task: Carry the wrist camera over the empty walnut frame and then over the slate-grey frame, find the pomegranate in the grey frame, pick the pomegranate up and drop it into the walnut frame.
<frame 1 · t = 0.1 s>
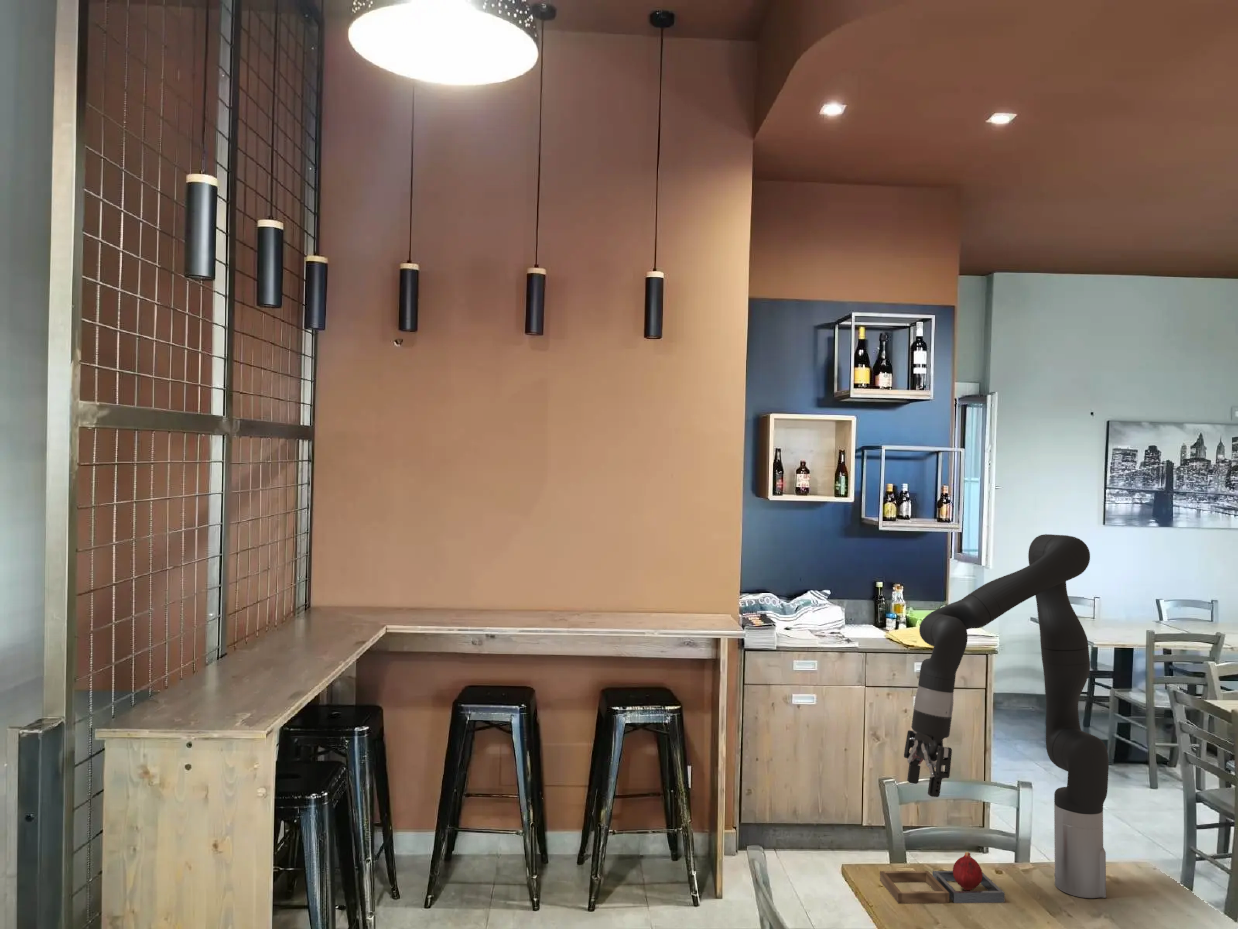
hand: (922, 789, 180), 22 cm above the table, tool pointing down, fingers open, 8 cm apart
pomegranate: (967, 892, 183), resting in grey frame
walnut frame: (913, 891, 182), on the table
grey frame: (967, 891, 183), on the table
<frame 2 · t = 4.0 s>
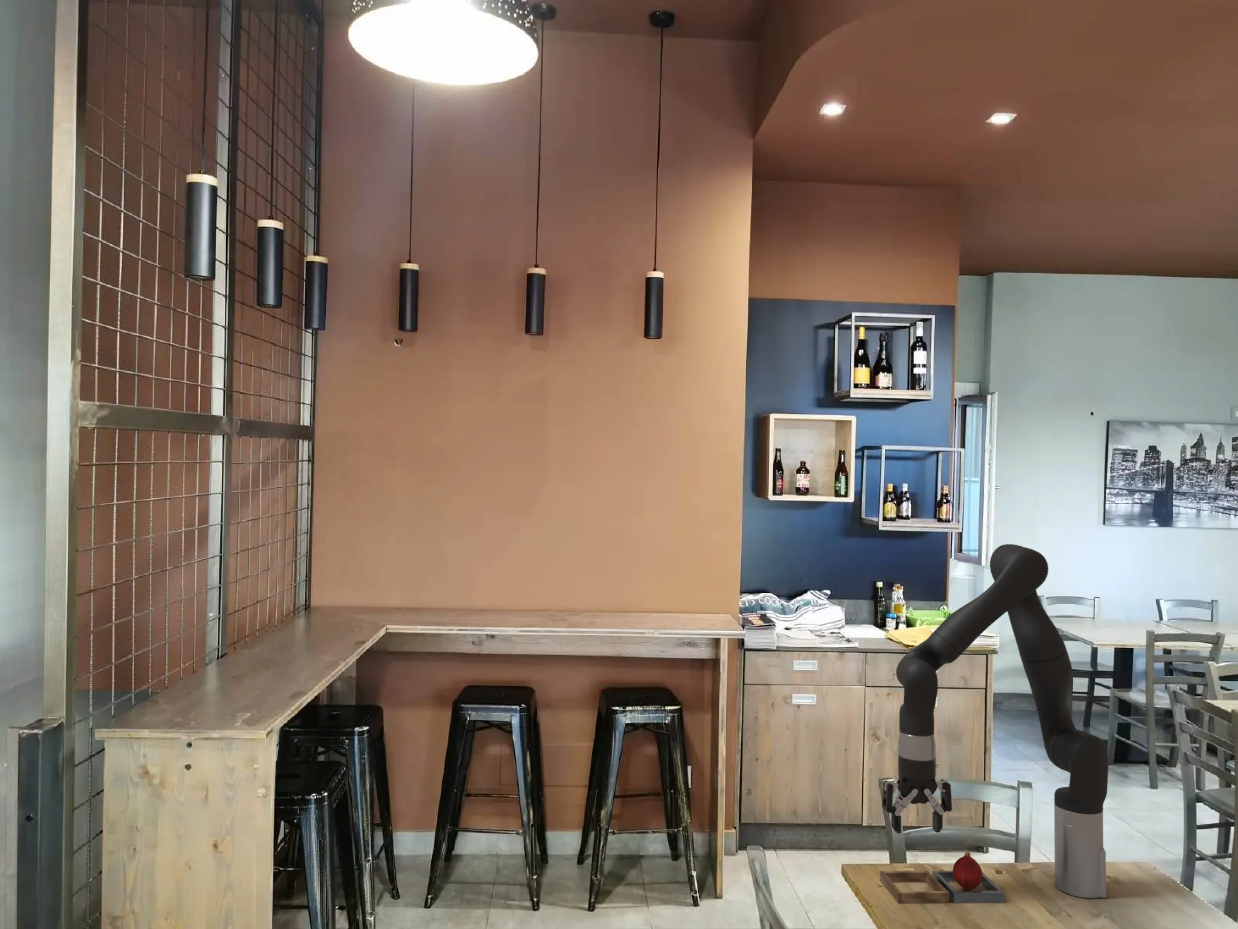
hand: (917, 831, 183), 12 cm above the table, tool pointing down, fingers open, 8 cm apart
nothing on the table moved.
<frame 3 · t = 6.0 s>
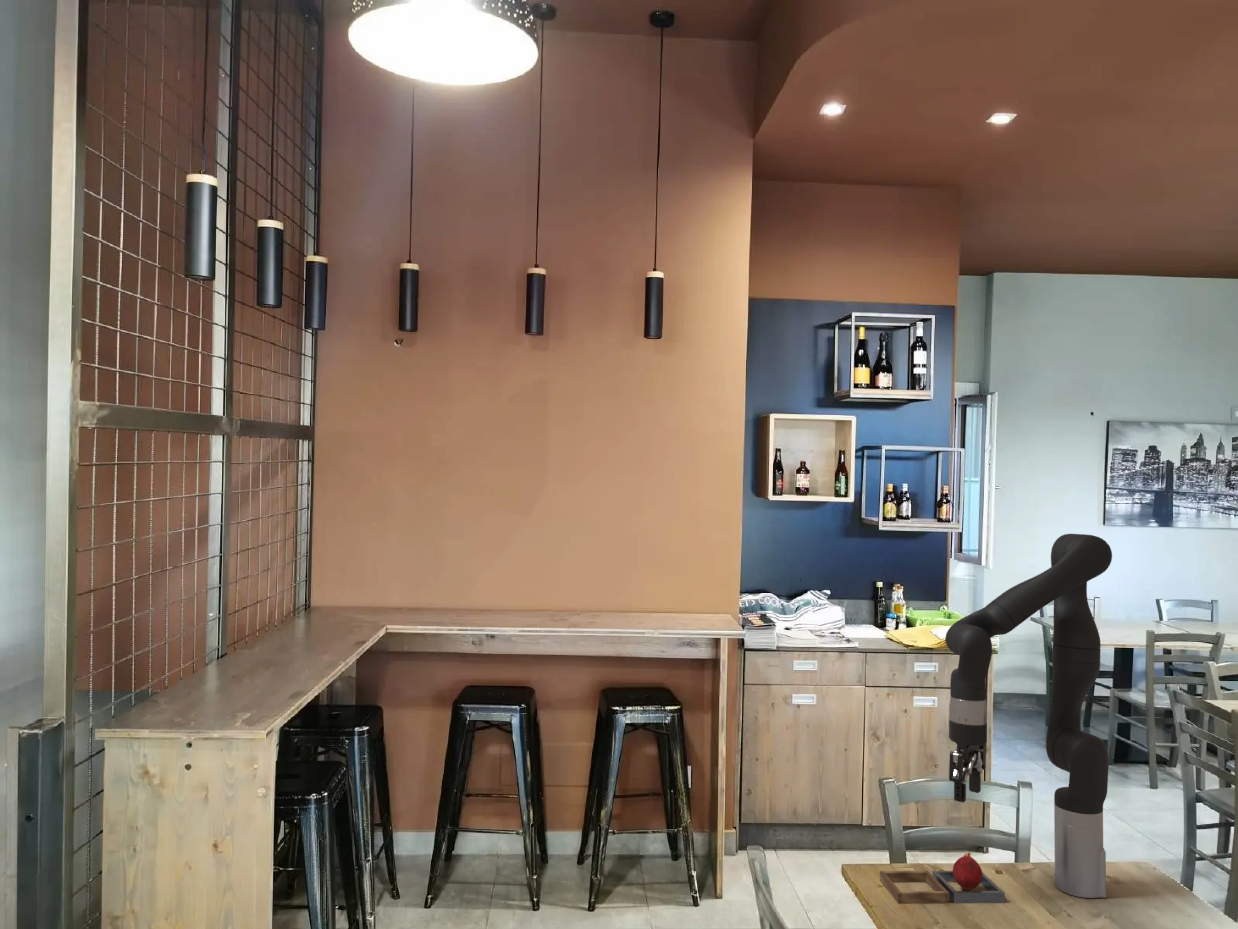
hand: (967, 796, 184), 20 cm above the table, tool pointing down, fingers open, 8 cm apart
nothing on the table moved.
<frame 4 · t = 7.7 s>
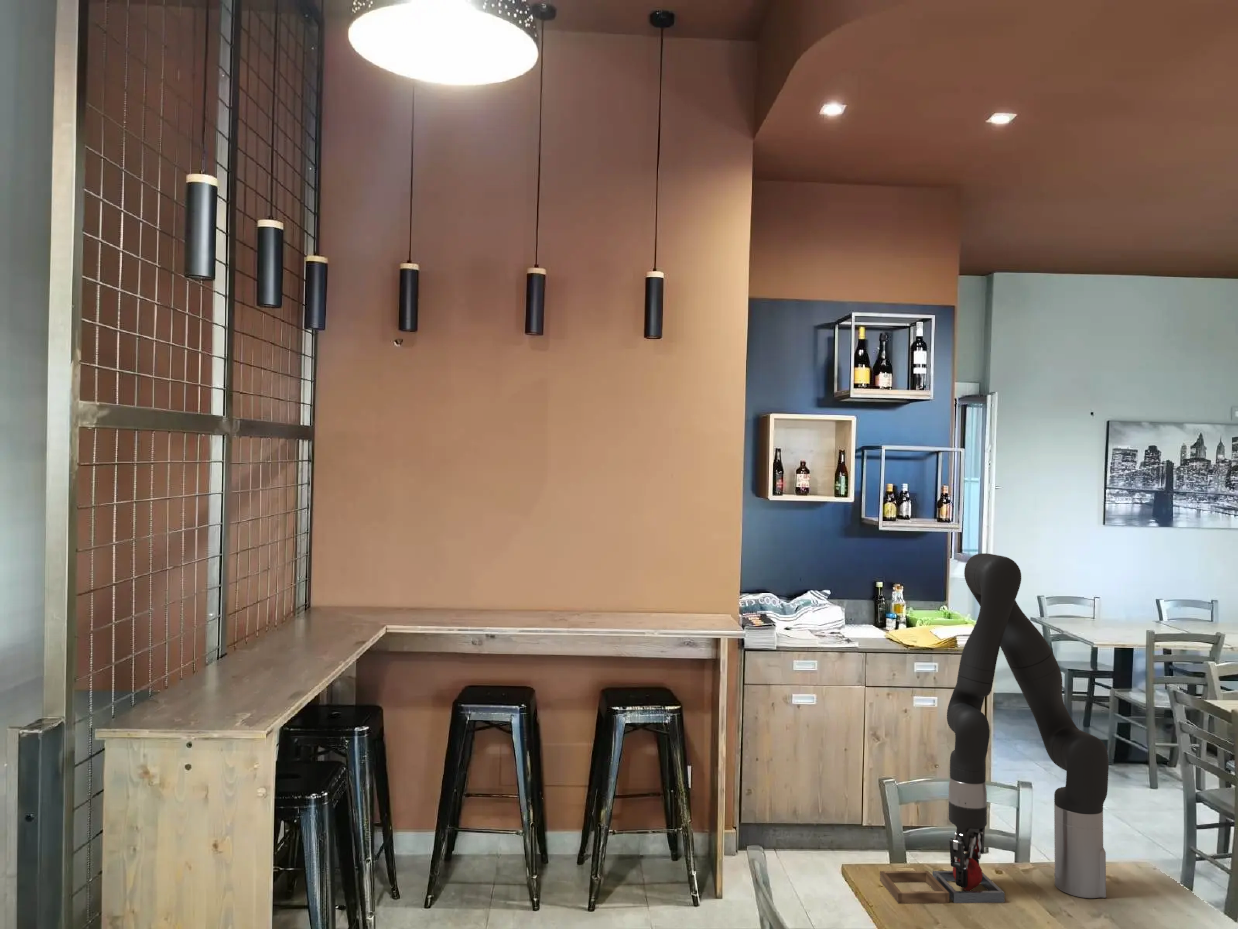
hand: (967, 881, 183), 2 cm above the table, tool pointing down, fingers closed on pomegranate, 6 cm apart
pomegranate: (967, 892, 183), resting in grey frame, touching gripper
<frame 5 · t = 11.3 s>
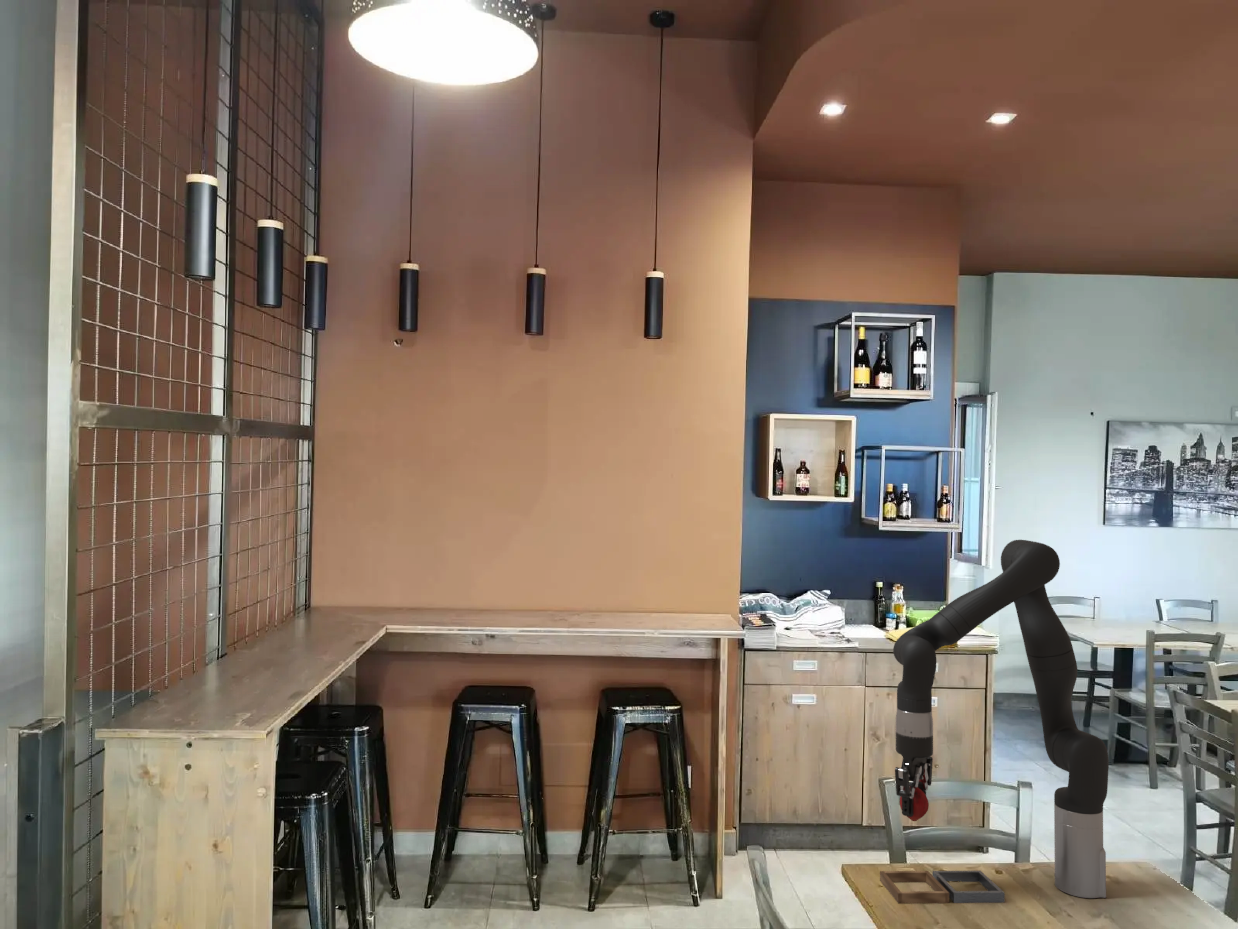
hand: (914, 811, 183), 17 cm above the table, tool pointing down, fingers closed on pomegranate, 6 cm apart
pomegranate: (914, 822, 183), point 14 cm above the table, touching gripper
when the fingers open (4 cm above the table, at t = 14.4 s): pomegranate drops 2 cm, resting in walnut frame.
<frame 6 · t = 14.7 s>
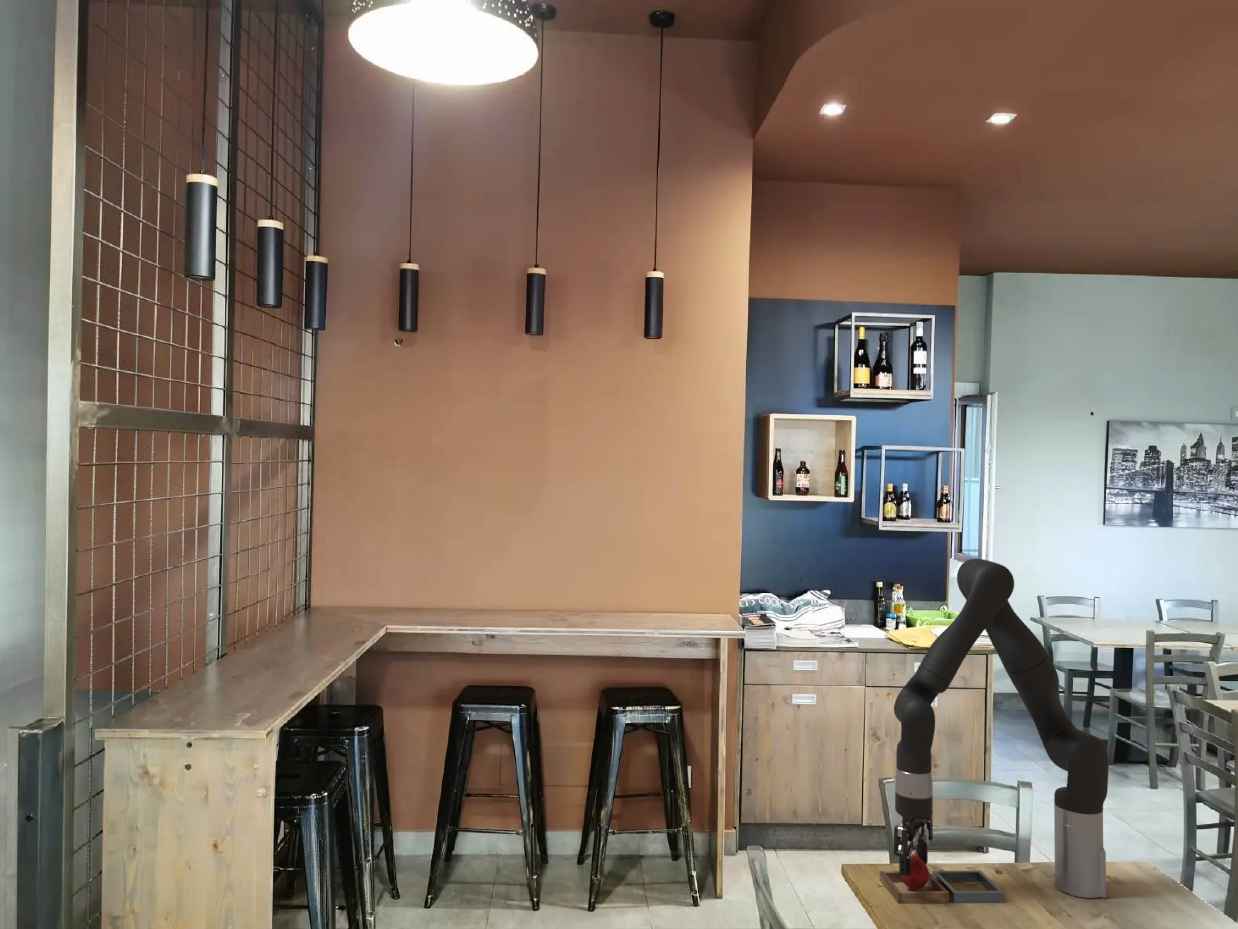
hand: (913, 869, 183), 5 cm above the table, tool pointing down, fingers open, 8 cm apart
pomegranate: (913, 892, 182), resting in walnut frame
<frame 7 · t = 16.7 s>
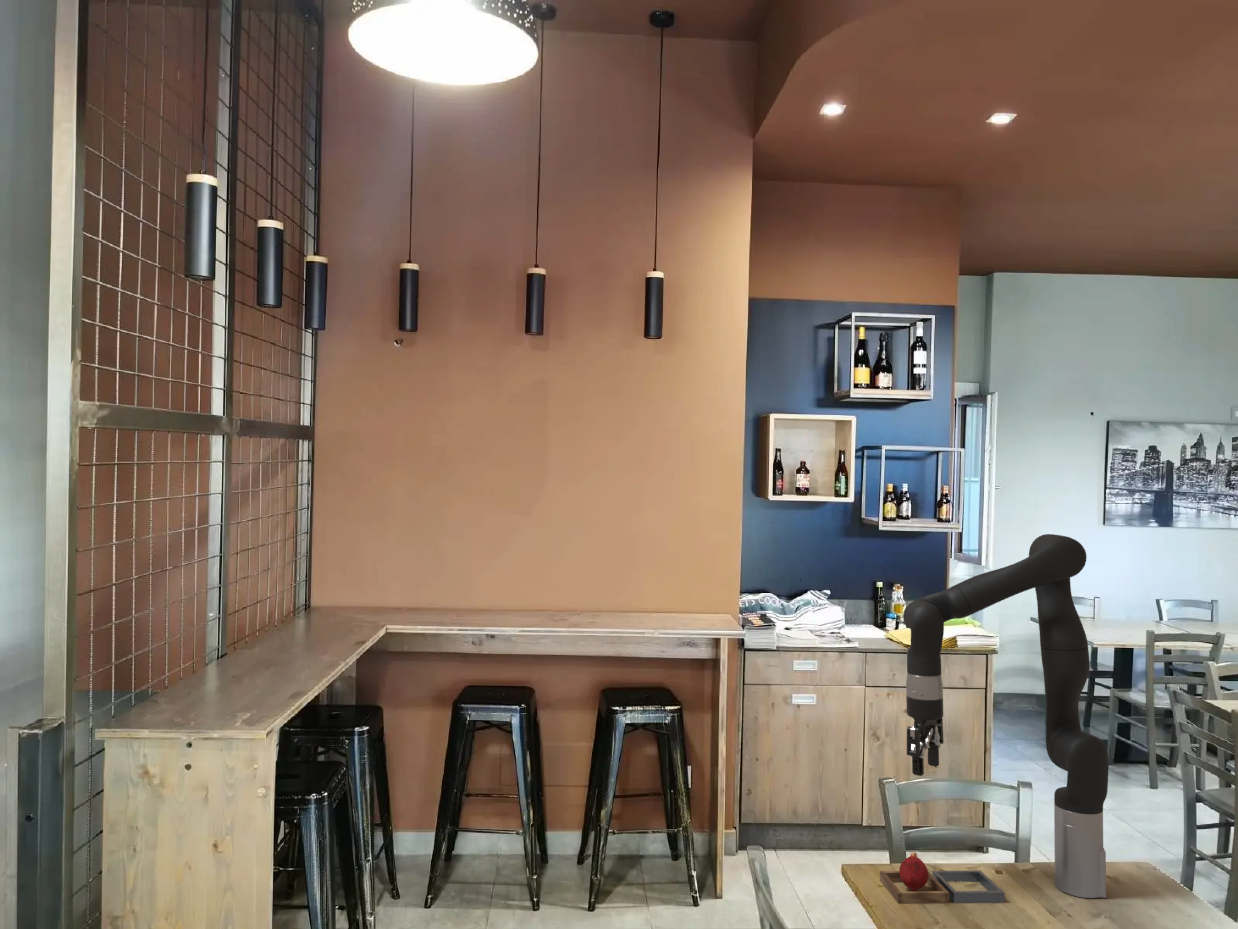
hand: (926, 770, 188), 24 cm above the table, tool pointing down, fingers open, 8 cm apart
nothing on the table moved.
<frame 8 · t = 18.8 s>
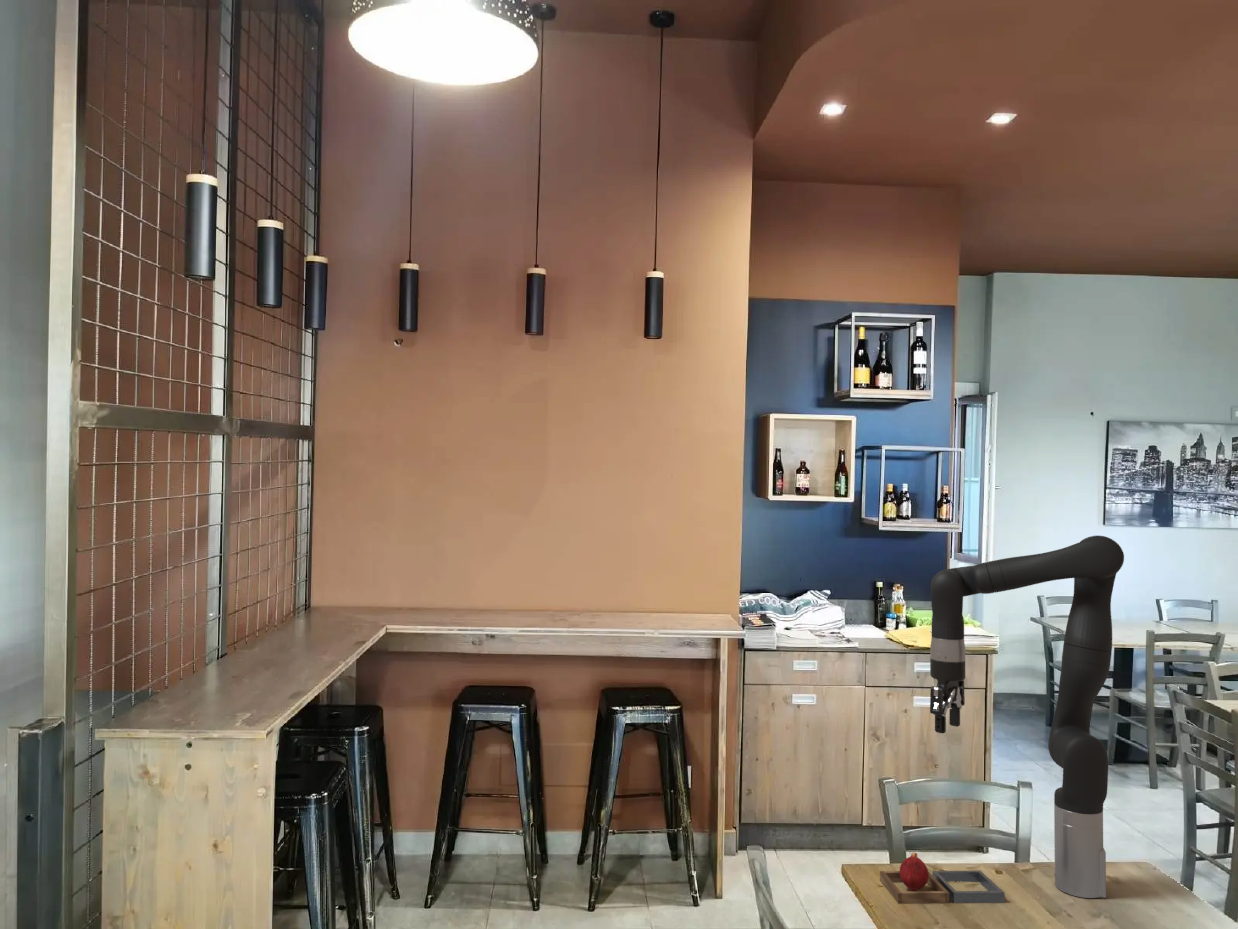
hand: (947, 729, 198), 30 cm above the table, tool pointing down, fingers open, 8 cm apart
nothing on the table moved.
at the end: pomegranate 0.1 cm off-centre on the walnut frame, point 0.0 cm above the walnut frame's base; the gripper is holding nothing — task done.
